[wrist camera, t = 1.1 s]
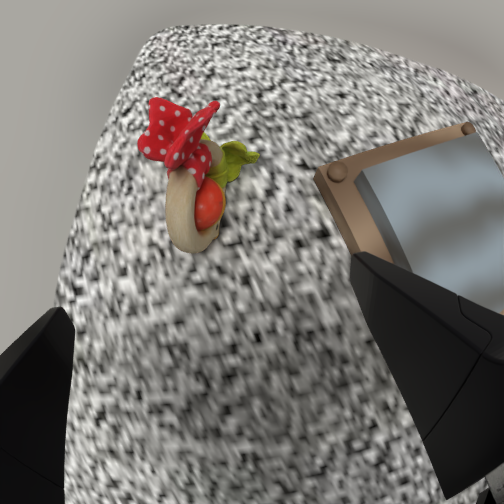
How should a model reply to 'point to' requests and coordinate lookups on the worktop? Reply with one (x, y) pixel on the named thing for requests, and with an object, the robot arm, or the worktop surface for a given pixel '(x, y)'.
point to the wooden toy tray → (426, 209)
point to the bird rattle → (192, 170)
